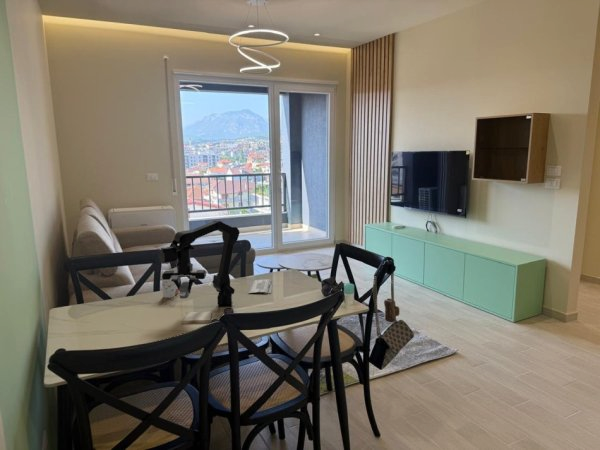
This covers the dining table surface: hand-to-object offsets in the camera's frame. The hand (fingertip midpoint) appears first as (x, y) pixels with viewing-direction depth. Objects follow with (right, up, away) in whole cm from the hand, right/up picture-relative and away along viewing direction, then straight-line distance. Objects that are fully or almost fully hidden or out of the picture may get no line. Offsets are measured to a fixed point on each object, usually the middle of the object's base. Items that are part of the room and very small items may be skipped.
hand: (185, 292), depth 191 cm
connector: (0, -1, 0) cm, 1 cm away
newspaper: (+31, -5, +43) cm, 53 cm away
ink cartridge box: (-16, -6, +29) cm, 33 cm away
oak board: (+6, -11, -2) cm, 13 cm away
